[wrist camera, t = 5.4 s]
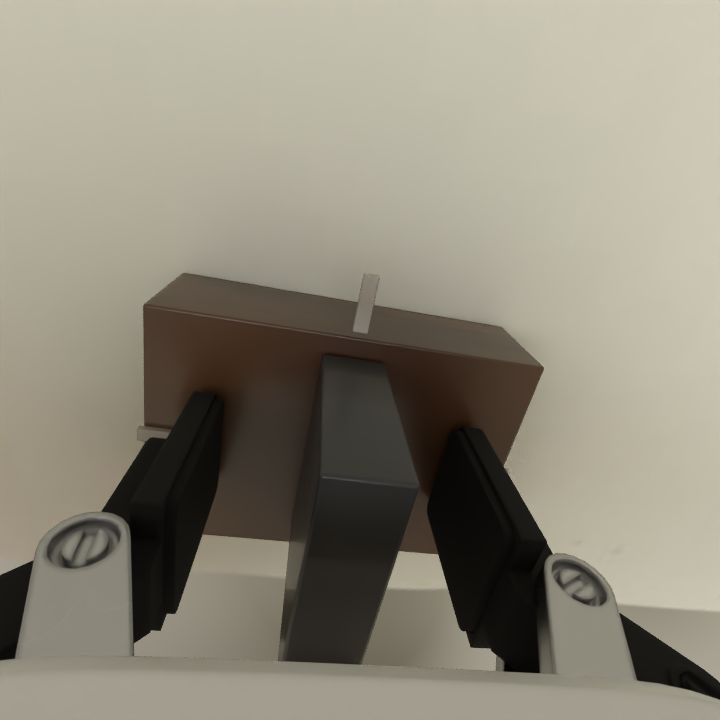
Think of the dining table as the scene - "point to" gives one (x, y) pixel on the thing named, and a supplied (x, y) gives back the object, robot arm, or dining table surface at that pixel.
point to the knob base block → (299, 381)
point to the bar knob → (346, 514)
